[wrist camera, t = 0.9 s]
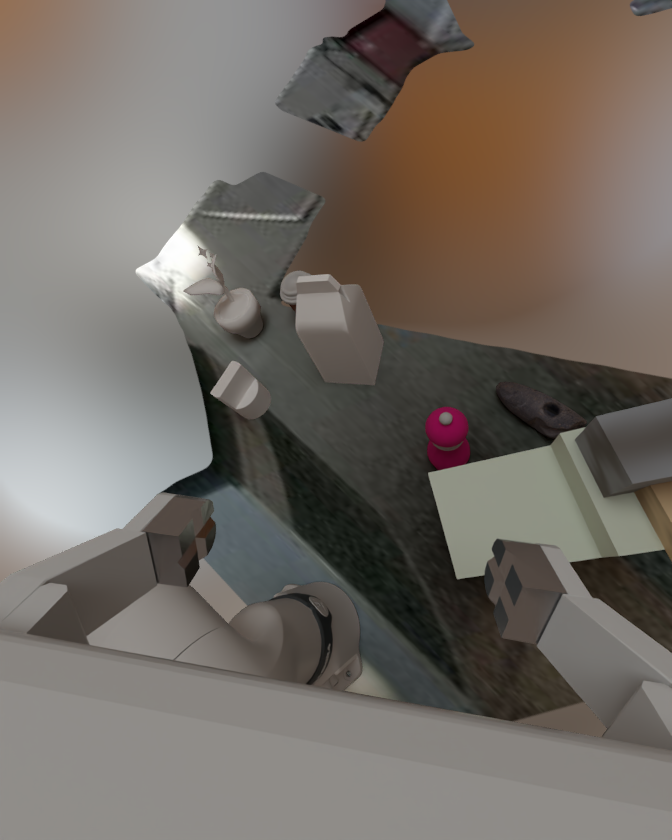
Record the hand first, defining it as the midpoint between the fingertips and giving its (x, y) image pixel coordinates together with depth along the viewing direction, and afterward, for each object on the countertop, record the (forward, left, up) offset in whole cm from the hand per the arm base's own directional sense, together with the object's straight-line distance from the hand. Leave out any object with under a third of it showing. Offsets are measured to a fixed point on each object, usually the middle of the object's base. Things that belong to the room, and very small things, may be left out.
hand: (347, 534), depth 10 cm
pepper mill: (+16, +9, -54) cm, 58 cm away
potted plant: (+16, +72, -54) cm, 92 cm away
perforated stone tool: (+31, +2, -55) cm, 63 cm away
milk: (+23, +39, -54) cm, 71 cm away
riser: (+13, -7, -54) cm, 56 cm away
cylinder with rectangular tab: (+1, +54, -54) cm, 77 cm away
